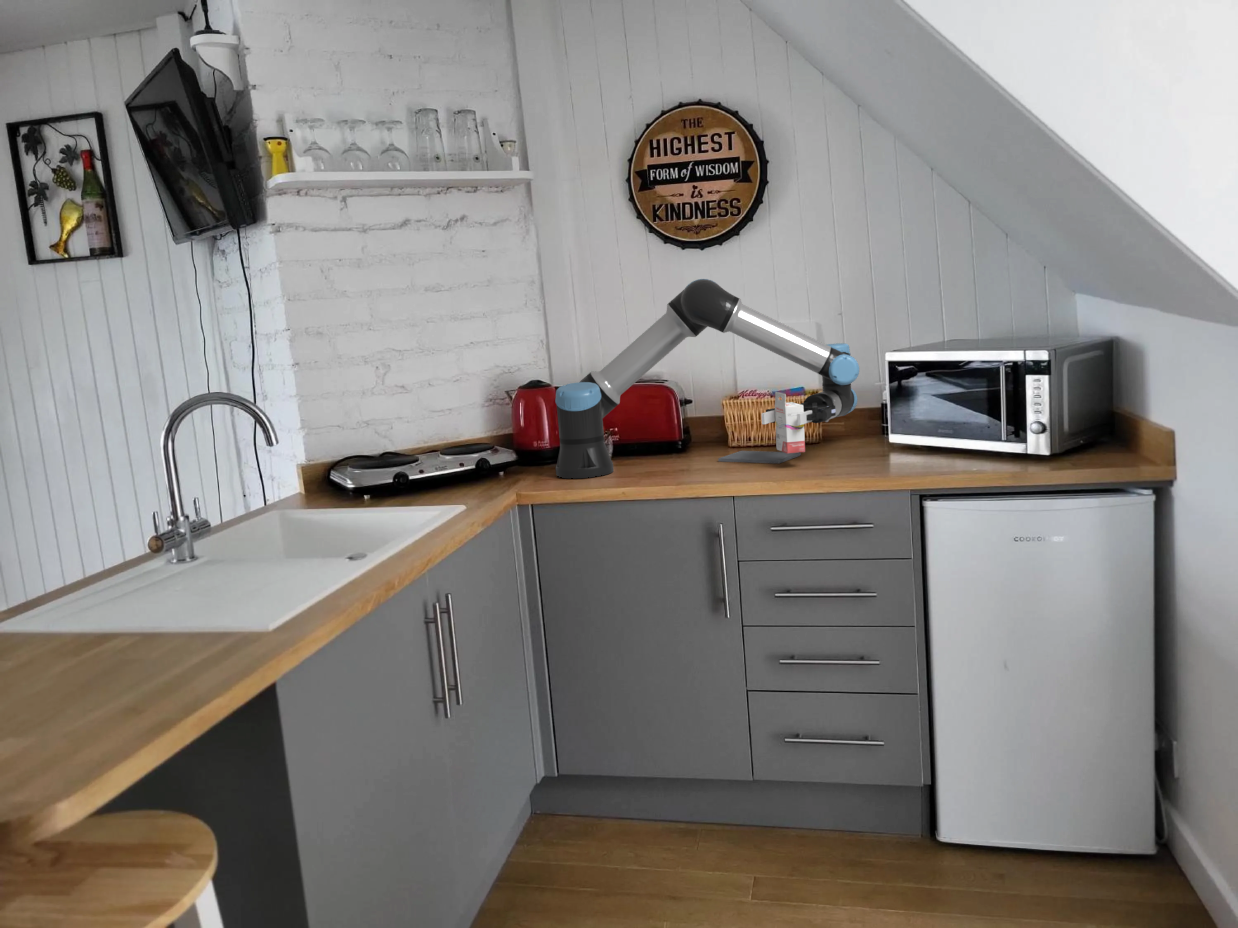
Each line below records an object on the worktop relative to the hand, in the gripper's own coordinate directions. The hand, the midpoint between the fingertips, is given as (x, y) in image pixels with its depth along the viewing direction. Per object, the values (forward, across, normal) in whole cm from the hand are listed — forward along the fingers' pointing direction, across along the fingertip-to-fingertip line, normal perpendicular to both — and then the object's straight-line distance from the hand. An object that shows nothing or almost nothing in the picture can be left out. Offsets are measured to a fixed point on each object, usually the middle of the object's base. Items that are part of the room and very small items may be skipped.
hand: (780, 419), depth 259 cm
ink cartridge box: (-5, 0, -9) cm, 10 cm away
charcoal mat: (-14, +14, -13) cm, 23 cm away
